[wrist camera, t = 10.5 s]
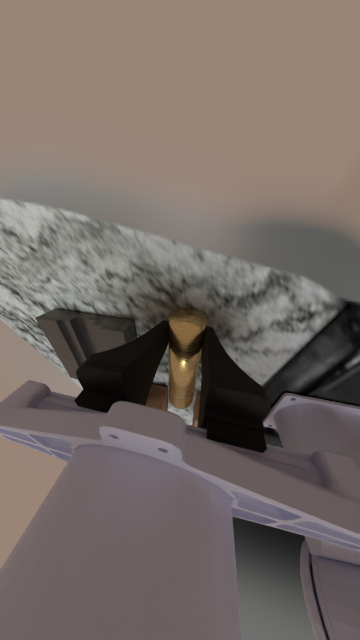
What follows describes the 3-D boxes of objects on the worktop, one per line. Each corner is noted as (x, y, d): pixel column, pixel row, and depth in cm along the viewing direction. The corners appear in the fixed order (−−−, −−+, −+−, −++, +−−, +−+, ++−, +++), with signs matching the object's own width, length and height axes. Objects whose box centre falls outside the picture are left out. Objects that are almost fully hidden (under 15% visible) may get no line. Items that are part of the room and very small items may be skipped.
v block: (133, 320, 15) (122, 332, 13) (142, 377, 20) (135, 392, 18) (55, 308, 16) (35, 318, 15) (82, 365, 22) (70, 377, 20)
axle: (173, 306, 13) (164, 324, 11) (207, 310, 13) (205, 330, 10) (172, 382, 20) (165, 405, 17) (194, 387, 19) (191, 411, 17)
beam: (247, 404, 19) (253, 434, 16) (236, 423, 22) (239, 451, 19) (125, 378, 21) (111, 400, 18) (130, 399, 24) (119, 420, 22)
